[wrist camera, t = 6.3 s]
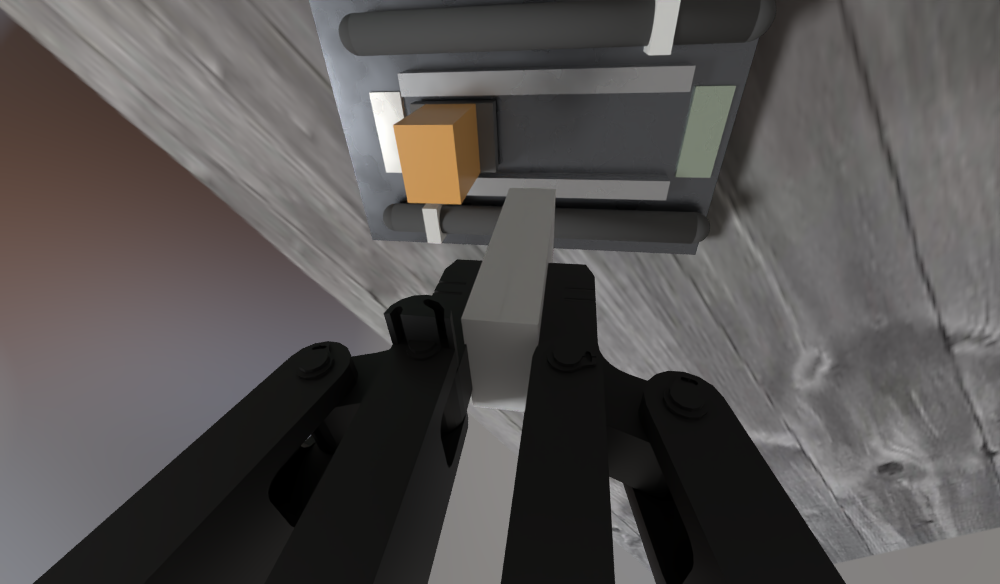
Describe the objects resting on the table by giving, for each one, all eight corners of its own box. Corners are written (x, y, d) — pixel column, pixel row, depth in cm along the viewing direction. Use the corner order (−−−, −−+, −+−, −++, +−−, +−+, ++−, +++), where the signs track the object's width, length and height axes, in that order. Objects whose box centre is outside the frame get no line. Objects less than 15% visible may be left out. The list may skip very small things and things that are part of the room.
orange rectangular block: (415, 101, 24) (373, 125, 19) (495, 100, 23) (473, 124, 18) (425, 166, 26) (390, 202, 21) (498, 167, 25) (479, 204, 21)
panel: (323, -17, 23) (291, -20, 20) (768, -48, 19) (796, -55, 17) (382, 228, 32) (365, 247, 30) (689, 240, 29) (699, 263, 26)
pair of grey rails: (345, 6, 22) (322, 7, 20) (773, -18, 18) (795, -21, 16) (394, 225, 30) (381, 240, 28) (699, 237, 26) (708, 255, 24)
